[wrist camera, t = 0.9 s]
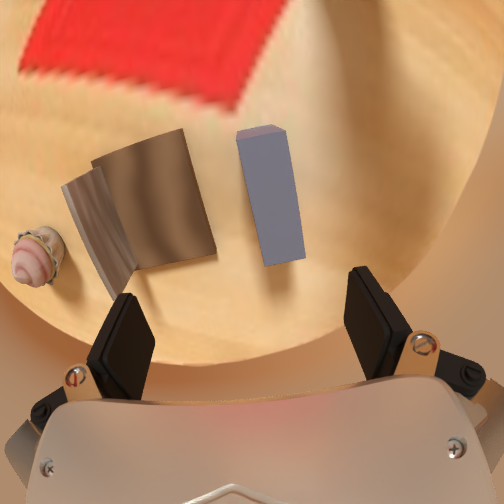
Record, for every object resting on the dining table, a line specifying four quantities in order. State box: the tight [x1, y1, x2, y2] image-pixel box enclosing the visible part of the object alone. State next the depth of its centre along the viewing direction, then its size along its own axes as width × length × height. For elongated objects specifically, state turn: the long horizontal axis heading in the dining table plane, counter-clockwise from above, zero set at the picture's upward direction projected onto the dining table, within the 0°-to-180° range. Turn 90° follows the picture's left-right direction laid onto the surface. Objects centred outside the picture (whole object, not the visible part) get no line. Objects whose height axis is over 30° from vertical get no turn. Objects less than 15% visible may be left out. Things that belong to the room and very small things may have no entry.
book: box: [236, 125, 306, 266], centre depth 28 cm, size 4×12×10 cm, turn 12°
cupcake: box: [11, 227, 65, 288], centre depth 31 cm, size 9×9×10 cm
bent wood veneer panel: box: [61, 128, 216, 301], centre depth 29 cm, size 12×16×10 cm
